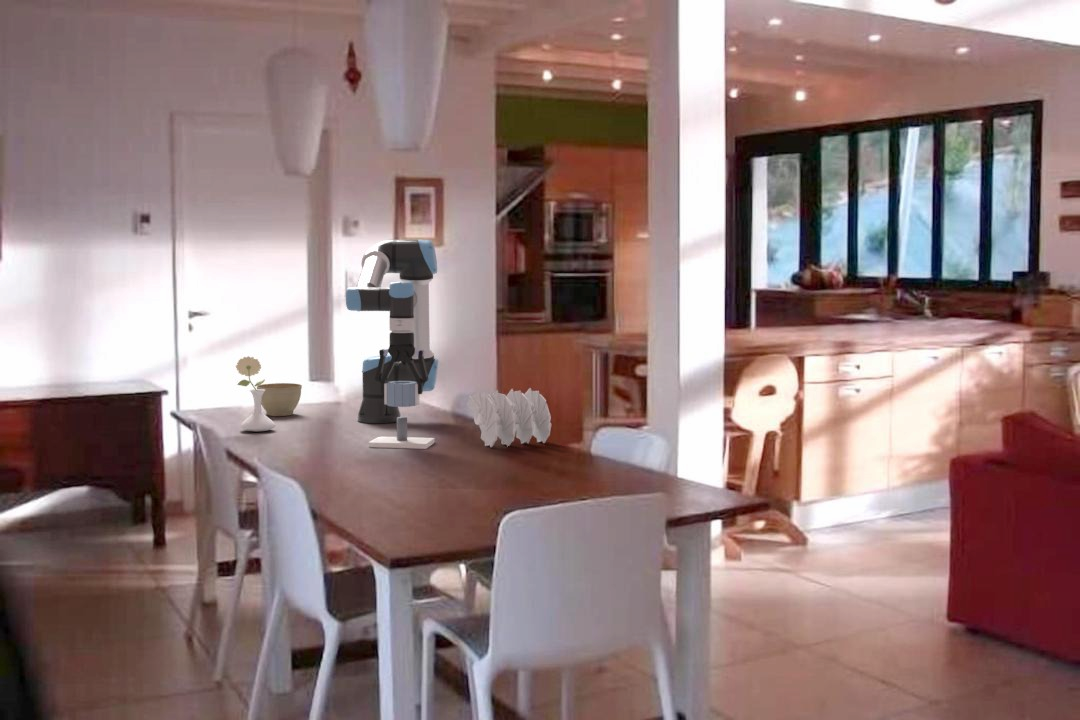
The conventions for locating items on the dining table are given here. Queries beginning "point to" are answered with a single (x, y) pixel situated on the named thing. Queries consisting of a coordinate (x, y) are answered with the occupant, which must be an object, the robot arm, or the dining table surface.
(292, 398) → the planter bowl
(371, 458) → the dining table surface
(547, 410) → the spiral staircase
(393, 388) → the hub ring
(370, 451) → the dining table surface
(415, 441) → the post stand
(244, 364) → the flower in vase
